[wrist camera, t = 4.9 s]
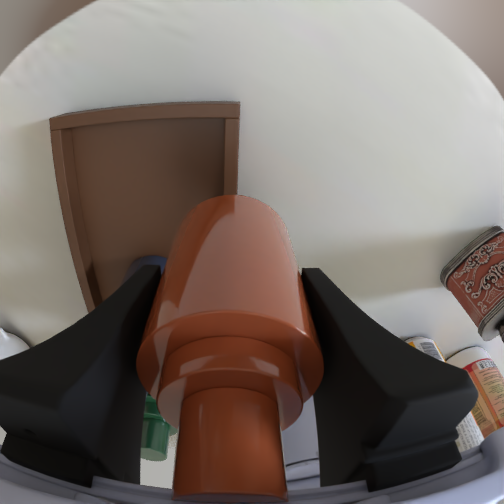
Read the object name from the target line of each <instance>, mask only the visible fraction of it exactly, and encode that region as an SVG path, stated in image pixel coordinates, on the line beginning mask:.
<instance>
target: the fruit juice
mask: <svg viewBox="0 0 504 504" xmlns="http://www.w3.org/2000/svg"><path fill="white" fill-rule="evenodd" d="M446 363H448V364H451V365H454V366H456V367H459V368H462V369H464V370H466V371H467V372H468V374H469V376H470V378H471V379H472V381H473V383H474V385H475V387H476V389H477V390H478V399H477V402H476V404H475V406H474V407H473V409H472V410H471V411H472V414H473V416H474V418H475V420H476V422H477V424H478V426H479V429H480V431H481V433H482V435H483V438H484V439H485V438H486V437H487V436H488V435H490V434H491V433H493V432H494V431H496V430H498V429H500V428H502V427H504V378H503V377H502V375H501V373H500V372H499V370H498V368H497V367H496V365H495V364H494V362H493V360H492V359H491V357H490V356H489V354H488V353H487V352H486V351H485V350H484V349H483V348H481V347H471V348H468V349H465V350H463V351H461V352H459V353H457V354H455V355H454V356H452V357H451V358H449V359H448V360H447V361H446ZM496 504H504V499H503V500H501V501H500V502H498V503H496Z"/></svg>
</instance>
